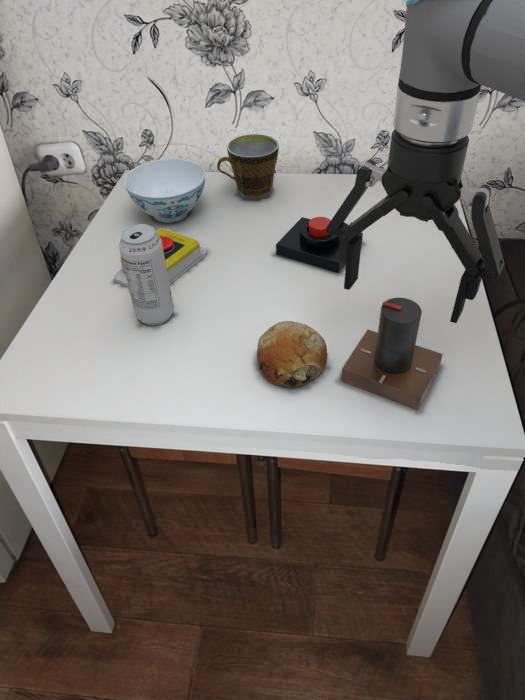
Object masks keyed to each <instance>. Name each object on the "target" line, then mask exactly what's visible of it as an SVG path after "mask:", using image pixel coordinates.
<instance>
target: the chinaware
mask: <svg viewBox="0 0 525 700" xmlns="http://www.w3.org/2000/svg"><path fill="white" fill-rule="evenodd" d="M123 184H124V187H125V189H126V191H127V192H126V193H128V196H129V198H130V199H131V201H132V202H133V203H134V204H135V206H137V208H139V209H140V210H141V211H143V212H144V213H145V214H147V215H150V216H151V217H153V219H155V221H159V222H161V223H176V222H179V221H181V220H183V219H185V218H186V217H187V216H188V213H189V212H190V211H191V210H192V209H193V208H194V207H195V206H196V205H197V204H198V202H199V201H200V199H201V197H202V195H203V192H204V190H205V189H204V188H205V184H206V171H205V168H204V167H202V165H201V164H198V163H197V162H195V161H192V160H189V159H183V158H160V159H154V160H151V161H147V162H144V163H142V164H139V165H138V166H135V167H134V168H132V169H131V170H130V171H128V173H127V174H126V175H125V177H124V180H123Z"/></svg>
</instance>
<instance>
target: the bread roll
mask: <svg viewBox="0 0 525 700" xmlns="http://www.w3.org/2000/svg"><path fill="white" fill-rule="evenodd" d="M256 355H257V363H258V368H259V372H260V374H261V375H262V376H263V377H264V378H265V379H266V380H267V381H268V382H270V383H272V384H275V385H276V386H283V387H289V388H295V387H301V386H303V385H307V383H309V382H312V381H313V380H315V379H316V378H317V377H318V376H320V374H321V372H323V371H325V368H326V367H327V362H328V347H327V343H326V341H325V339H324V337H323V336H322V335H321V334H320V333H319V332H318V331H317V330H315V329H314V328H312V327H311V326H309V325H307V324H306V323H302V322H298V321H293V320H284V321H283V320H282V321H279V322H277V323H274V324H273V325H272V326H270V327H269V328H268V329H267V330H266V331H265V332H264V333H262V335H260V337H259V338H258V343H257V353H256Z"/></svg>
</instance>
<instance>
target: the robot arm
mask: <svg viewBox="0 0 525 700" xmlns="http://www.w3.org/2000/svg"><path fill="white" fill-rule="evenodd" d="M405 6H406V11H405V20H404V21H405V22H404V33H403V43H402V44H403V45H402V50H401V51H402V54H401V62H400V71H399V74H398V75H399V77H398V83H397V87H396V95H395V96H396V97H395V104H394V105H395V106H394V112H393V113H394V114H393V122H392V126H393V128H394V129H393V131H392V132H391V135H390V143H389V151H388V159H387V168H386V169H385V168H383V167H380V166H377V163H376V161H375V160H374V159H368V160H366V161H365V162H364V163H363V164H362V166H360V167H359V168H358V170H357V172H356V176H355V181H354V185H353V187H352V189H351V190H350V192H349V193H348V194H347V196H346V198H345V199H344V200H343V202H342V203H341V205H340V206H339V208H338V209H337V211H336V212H335V213H334V215H333V217H332V218H331V219H330V220H331V221H330V223H329V224H328V226H327V227H326V231H327V233H328V234H330V235H333V234H335V235H336V236H338V237H339V238H340V241H341V243H340V257H339V258H340V261H341V262H343V263H346V264H345V270H344V271H345V272H344V283H343V289H344V290H348V291H350V290H351V288H353V286H354V285H355V284H356V282H357V280H358V279H359V273H360V261H361V251H362V244H363V237H362V235H358V234H360V233H363V232H364V231H365V230H367V229H368V228H369V227H371V226H372V225H373V224H375V223H376V222H377V221H378V220H380V219H381V218H383V217H386V216H387V215H388V214H390V213H391V212H393V211H394V210H396V212H398V213H399V216H402V217H406V218H415V219H417V220H419V221H421V222H426V223H428V222H429V221H432V222H433V223H434V225H435V227H436V228H437V229H438V231H440V232H442V233H443V235H444V237H445V238H446V240H447V242H448V243H449V244H450V247H451V249H452V250H453V251H454V253H455V255H456V257H457V258H458V259H459V261H460V263H461V264H462V266H463V267H464V271H463V273H462V275H461V277H460V281H459V285H458V289H457V293H456V297H455V300H454V304H453V308H452V312H451V316H450V320H449V322H450V323H453V324H457V323H458V321H459V319H460V317H461V316H462V313H463V312H464V308H465V304H466V300H470V301H473V300H474V299H475V298H476V296H477V294H478V292H479V290H480V286H481V283H482V279H483V278H488V279H491V280H497V279H498V278H499V276H500V275H501V272H502V270H503V268H504V266H505V260H504V255H503V253H502V249H501V243H500V240H499V237H498V232H497V230H496V226H495V222H494V217H493V215H492V211H491V207H490V203H491V195H492V187H491V186H490V185H488V184H486V183H485V184H482V185H480V186H479V187H470V186H469V187H468V186H464V185H463V181H462V176H463V170H464V166H465V161H466V157H467V153H468V147H469V143H470V138H469V134H470V133H472V130H473V126H474V121H475V117H476V112H477V108H478V103H479V99H480V95H481V88H482V86H484V87H485V88H488V89H491V90H494V91H497V92H499V93H502V94H504V95H508V96H510V97H513V98H515V99H518V100H520V101H523V102H525V0H406V1H405ZM378 182H381V185H382V187H383V189H384V191H385V193H386V196H385V197H383V198H382V199H380V200H379V201H378V202H377V203H376V204H374V205H373V206H371V208H369V209H368V210H367V211H365V212H363V213H362V214H361V215H360V216H359V217H357V218H356V219H355V220H354V221H351V222H350V223H349V224H348V223H346V222H345V221H346V220H347V218H348V217H349V216H350V214H351V212H353V210H354V208H355V207H356V206H357V204H358V203H359V201H360V200H361V199H362V197H363V196H364V194H365V193H366V192H367V190H368V188H372V187H374V186H375V185H376V183H378ZM460 200H461V201H463V202H464V204H465V208H466V210H467V211H468V212H471V213H470V217H471V222H472V226H473V230H474V234H475V236H476V240H477V244H478V246H479V248H478V246H477V244H476V243H475V241H474V240H473V237H472V236H471V234H470V232H469V231H468V229H467V227H466V226H465V224H464V223H463V220H462V219H461V217H460V214H459V210H458V208H457V205H456V203H458V202H459V201H460ZM361 243H362V244H361Z"/></svg>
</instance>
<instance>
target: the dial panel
mask: <svg viewBox="0 0 525 700" xmlns="http://www.w3.org/2000/svg"><path fill="white" fill-rule="evenodd" d="M377 335H378V331H374V330H371V329H366V331H365V333H364V334H363V336H362V337H361V338H360V341H359V342H358V343H357V345H356V347H355V348H354V350H353V351H352V352H351V354H350V355H349V357H348V359H347V361H346V362H345V364H344V365H343V366H342V368H341V377H340V378H341V379H340V381H341V382H342V383H345V384H347V385H350V386H353V387H355V388H358V389H361V390H363V391H367V392H369V393H372V394H373V395H377V396H380V397H382V398H385V399H388V400H390V401H392V402H396V403H398V404H402V405H404V406H407V407H409V408H412V409H415V410H417V411H419V410H420V408H421V406H422V403H423V401H424V400H425V397H426V396H427V393H428V391H429V390H430V388H431V386H432V384H433V382H434V379H435V378H436V375H437V373H438V371H439V369H440V367H441V362H442V358H443V353H442V352H439V351H435V350H432V349H429V348H426V347H423V346H420V345H416V344H415V350H414V355H413V360H412V365H411V367H410V368H409V369H408V370H407V371H406V372H403V373H400V374H390V373H386V372H384V371H382V370H381V369H379V368H378V367H377V366H376V364H375V361H374V357H375V350H376V342H377Z"/></svg>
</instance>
